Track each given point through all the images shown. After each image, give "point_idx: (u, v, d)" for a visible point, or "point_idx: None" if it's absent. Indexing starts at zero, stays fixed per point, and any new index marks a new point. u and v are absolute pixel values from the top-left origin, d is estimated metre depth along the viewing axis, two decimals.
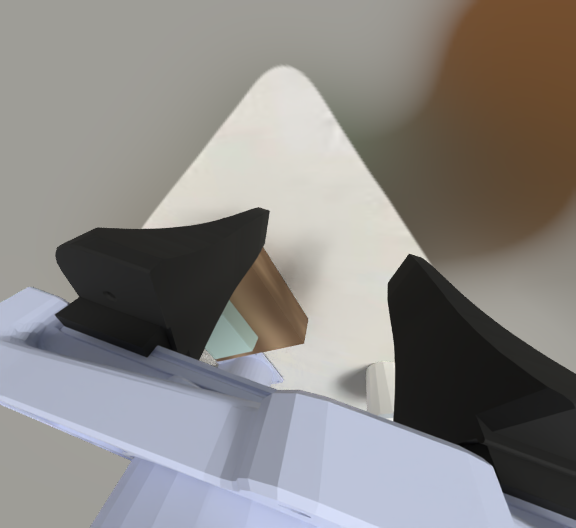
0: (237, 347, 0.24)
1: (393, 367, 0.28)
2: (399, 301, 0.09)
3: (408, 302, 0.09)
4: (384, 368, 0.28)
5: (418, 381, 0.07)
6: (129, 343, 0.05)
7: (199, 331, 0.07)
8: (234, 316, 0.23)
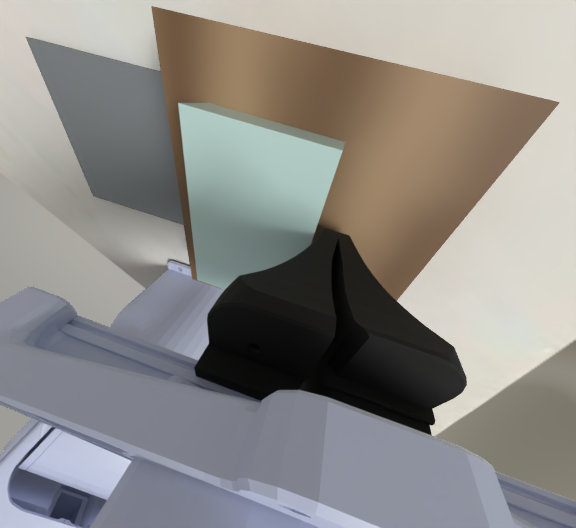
0: None
1: None
2: None
3: None
4: None
5: None
6: None
7: None
8: None
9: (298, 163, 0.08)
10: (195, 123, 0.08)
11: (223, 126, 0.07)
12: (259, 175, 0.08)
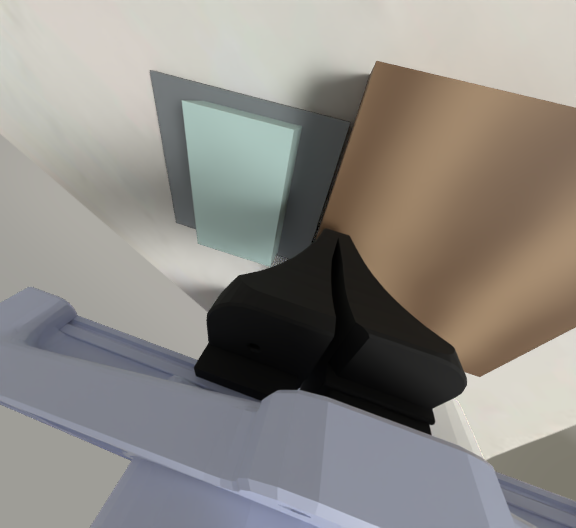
0: None
1: (461, 409, 0.23)
2: None
3: None
4: (456, 408, 0.23)
5: None
6: None
7: None
8: None
9: None
10: None
11: None
12: None
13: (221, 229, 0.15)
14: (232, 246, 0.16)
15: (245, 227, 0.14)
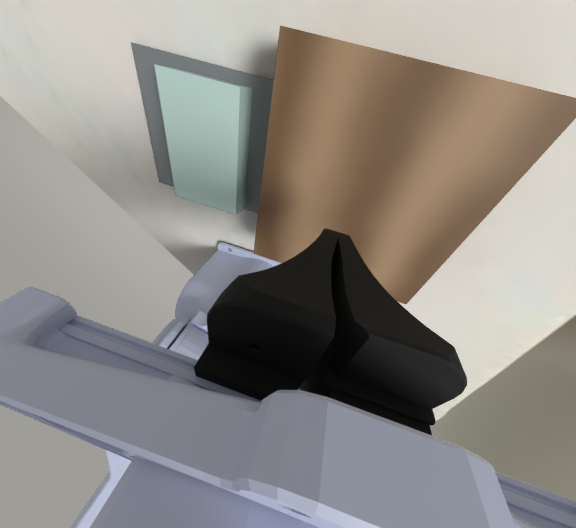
0: None
1: None
2: None
3: None
4: None
5: None
6: None
7: None
8: None
9: None
10: None
11: None
12: None
13: (193, 180, 0.18)
14: (203, 196, 0.19)
15: (212, 177, 0.17)
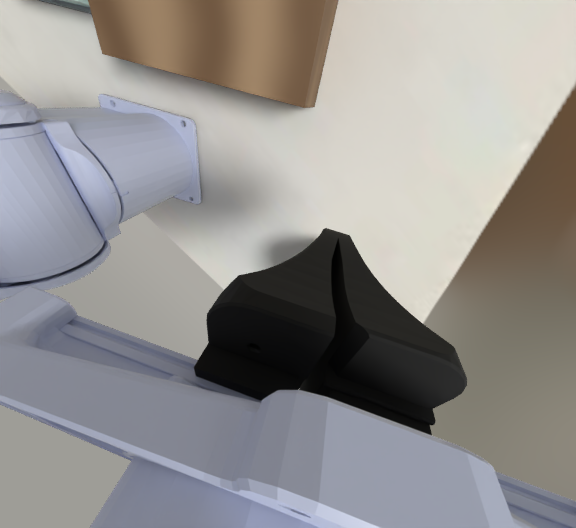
0: None
1: None
2: None
3: None
4: None
5: None
6: None
7: None
8: None
9: None
10: None
11: None
12: None
13: None
14: None
15: None
